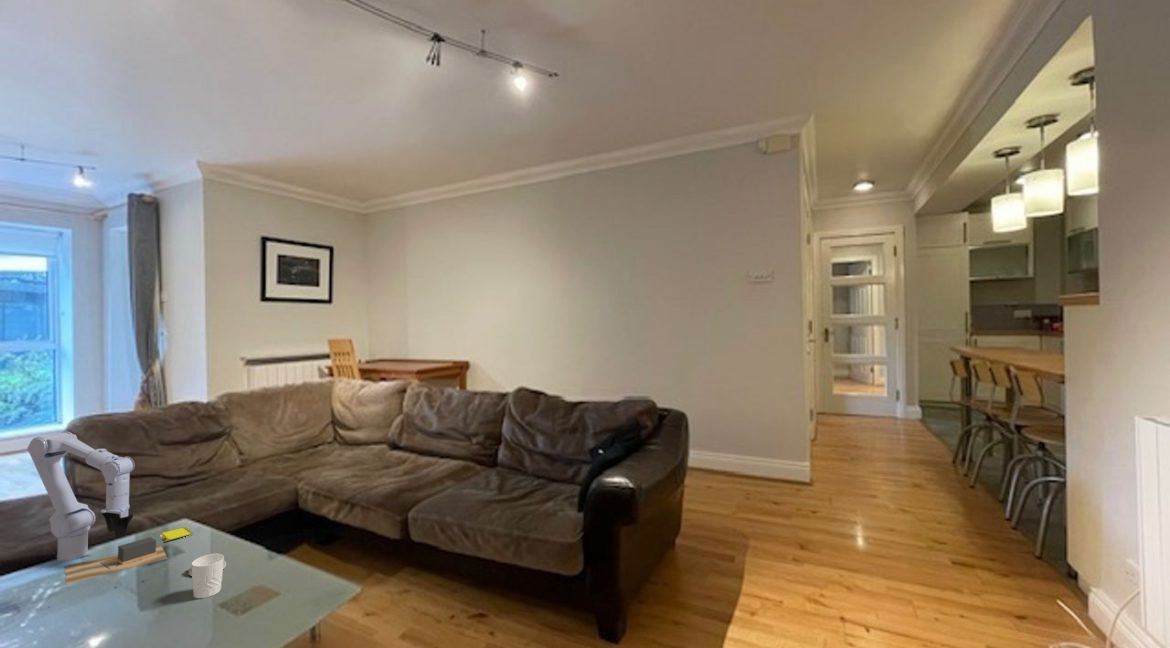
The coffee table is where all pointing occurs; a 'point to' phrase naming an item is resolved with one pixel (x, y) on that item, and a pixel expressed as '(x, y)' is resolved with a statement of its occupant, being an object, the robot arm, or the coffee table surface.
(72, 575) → the oak board
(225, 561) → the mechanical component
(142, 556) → the block
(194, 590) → the white cup
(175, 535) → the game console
